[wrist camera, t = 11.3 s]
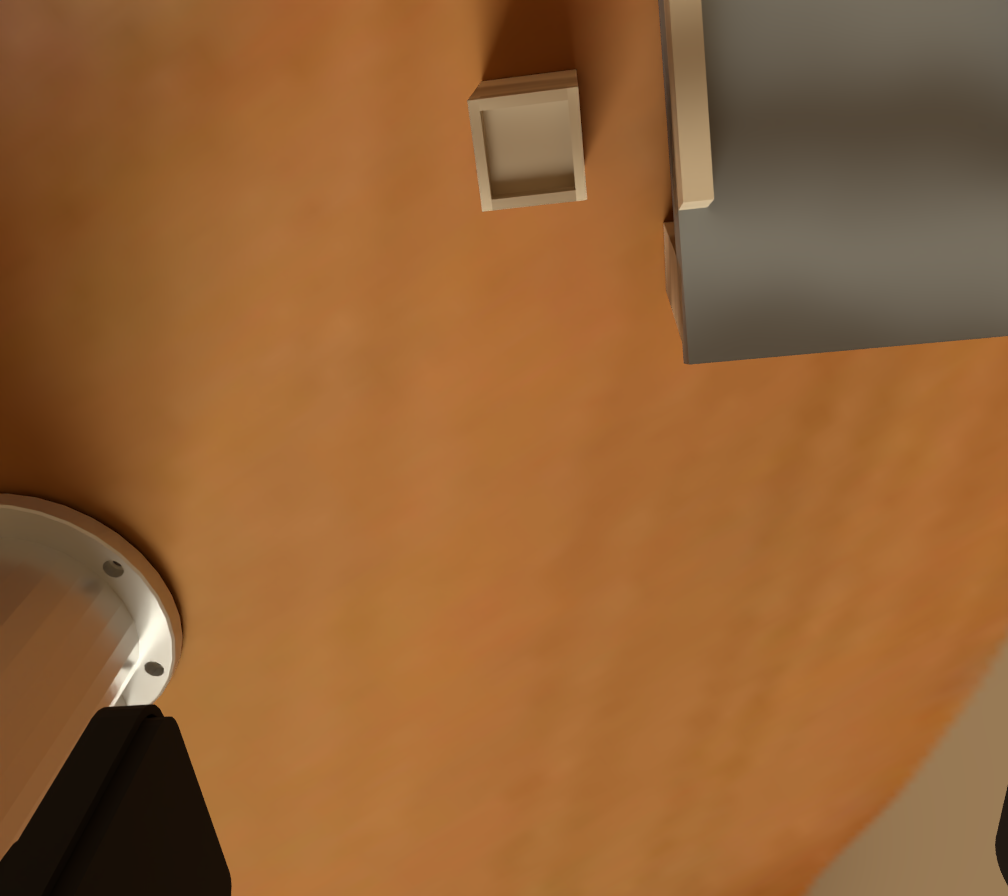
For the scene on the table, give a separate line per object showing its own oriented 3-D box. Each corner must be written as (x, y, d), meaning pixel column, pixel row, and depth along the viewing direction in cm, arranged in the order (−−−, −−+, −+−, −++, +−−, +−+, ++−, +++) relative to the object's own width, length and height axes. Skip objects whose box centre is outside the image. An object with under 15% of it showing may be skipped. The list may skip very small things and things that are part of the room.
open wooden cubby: (584, 167, 29) (587, 199, 25) (493, 177, 29) (482, 211, 25) (576, 68, 28) (578, 86, 24) (481, 81, 28) (467, 100, 24)
